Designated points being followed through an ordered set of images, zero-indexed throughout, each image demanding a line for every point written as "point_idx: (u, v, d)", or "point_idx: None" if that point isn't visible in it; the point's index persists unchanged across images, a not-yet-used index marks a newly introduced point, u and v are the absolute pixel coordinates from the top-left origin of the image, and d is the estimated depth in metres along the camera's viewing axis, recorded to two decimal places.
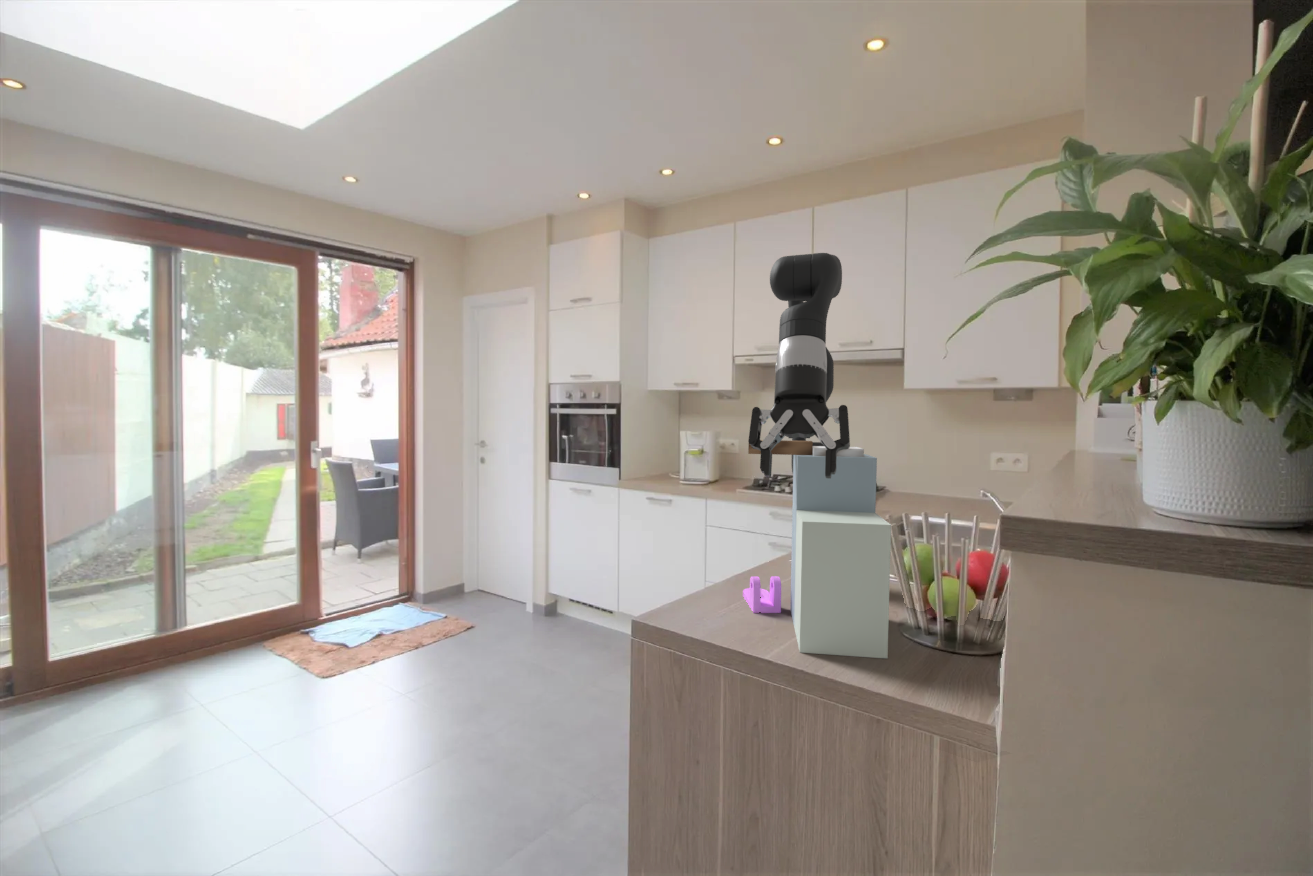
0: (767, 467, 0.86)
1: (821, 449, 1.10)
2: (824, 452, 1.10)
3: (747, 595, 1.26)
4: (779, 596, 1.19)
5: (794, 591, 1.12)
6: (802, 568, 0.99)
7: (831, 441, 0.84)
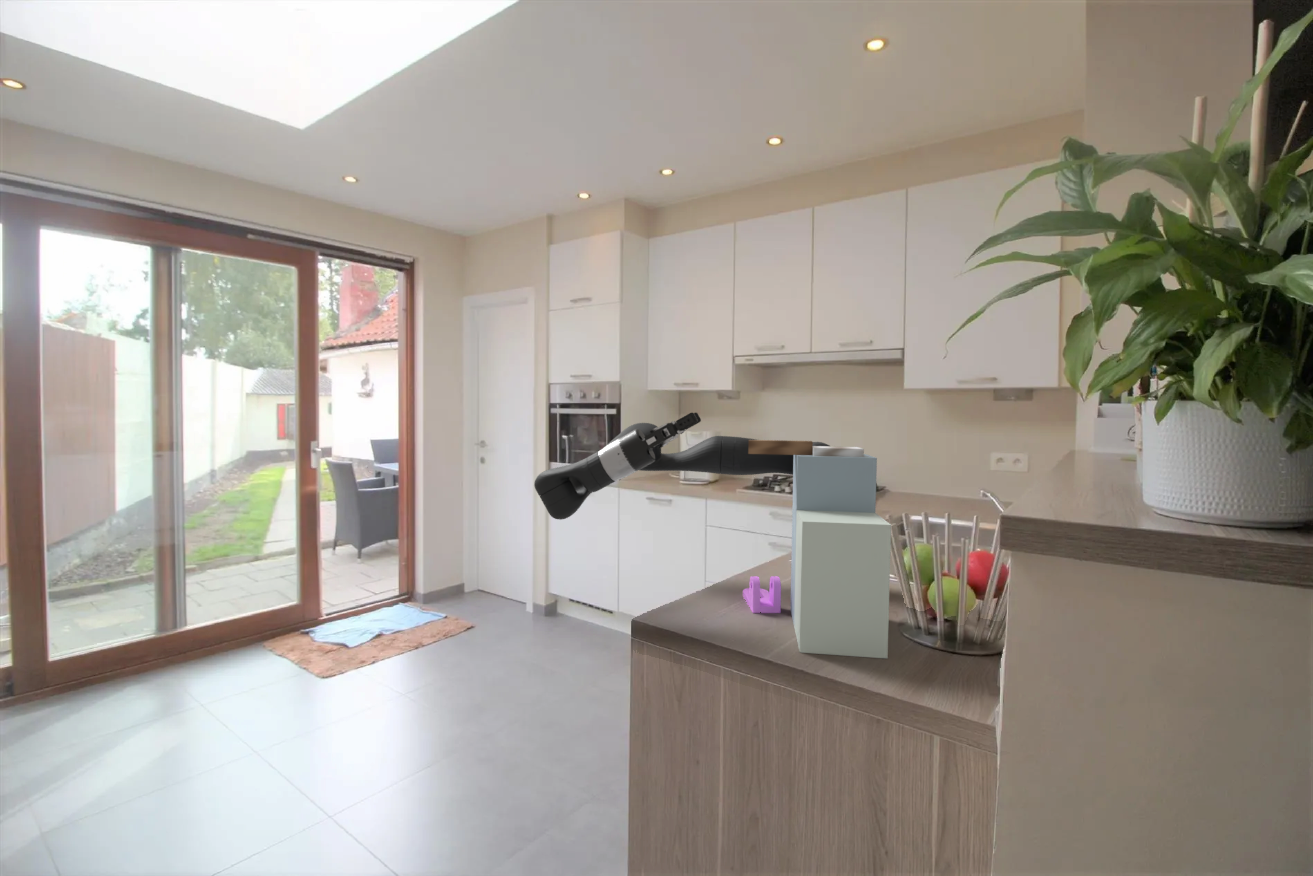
0: (697, 423, 1.21)
1: (821, 449, 1.10)
2: (824, 452, 1.10)
3: (747, 595, 1.26)
4: (779, 596, 1.19)
5: (794, 591, 1.12)
6: (802, 568, 0.99)
7: None
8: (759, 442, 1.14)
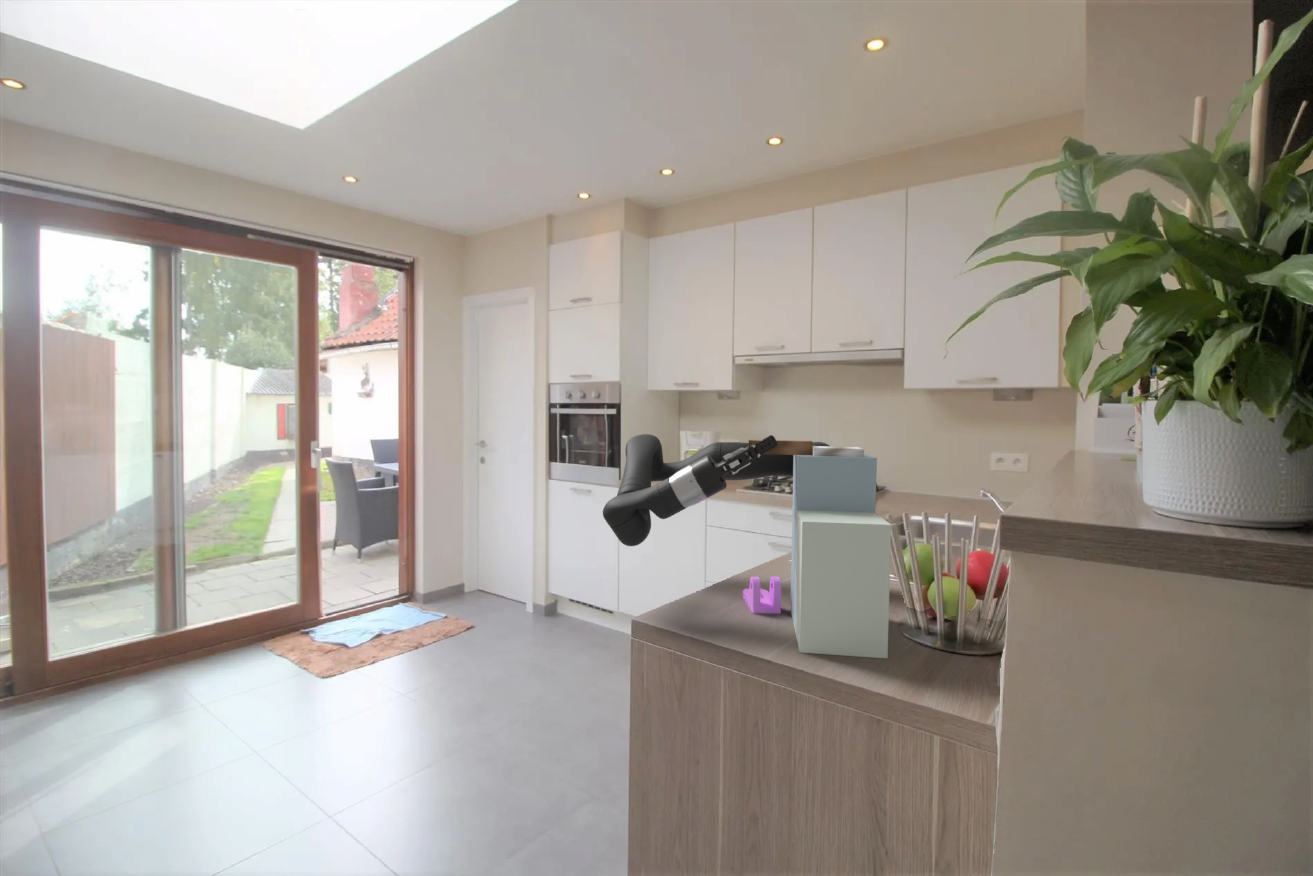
0: None
1: (821, 449, 1.10)
2: (824, 452, 1.10)
3: (747, 595, 1.26)
4: (779, 596, 1.19)
5: (794, 591, 1.12)
6: (802, 568, 0.99)
7: None
8: None
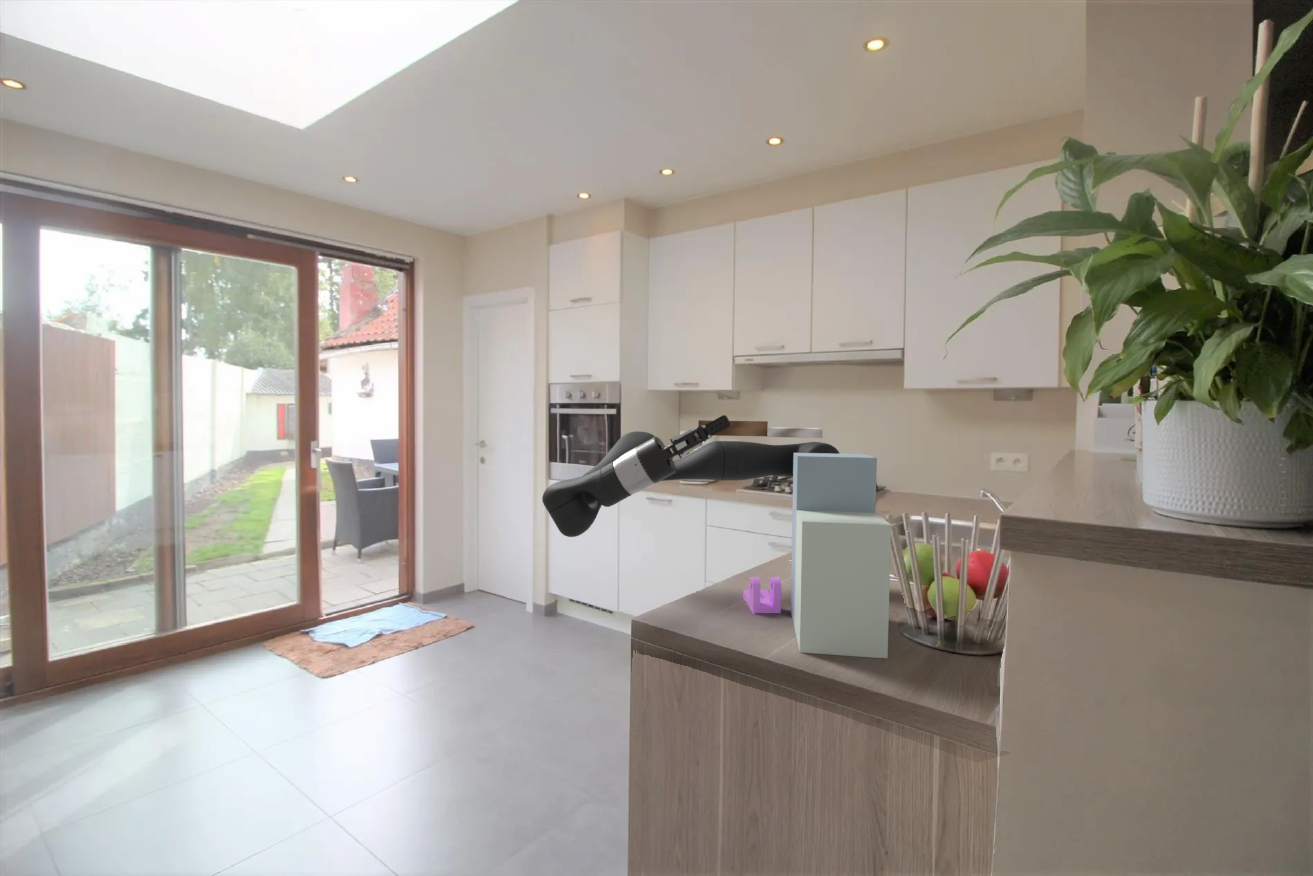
0: None
1: (776, 429, 1.01)
2: (779, 433, 1.01)
3: (747, 596, 1.26)
4: (779, 597, 1.18)
5: (794, 591, 1.12)
6: (802, 568, 0.99)
7: None
8: None
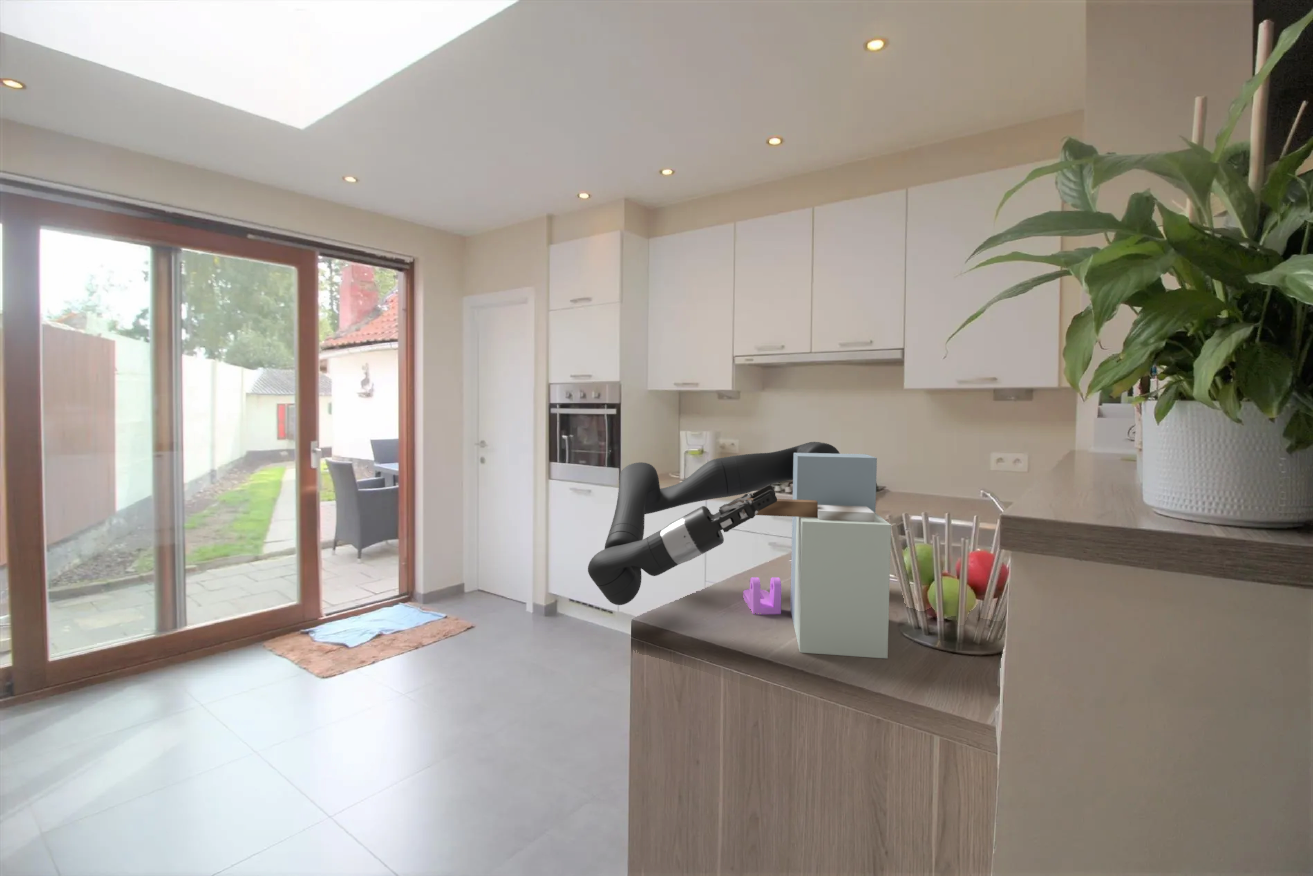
0: None
1: (827, 512, 1.00)
2: (830, 516, 1.00)
3: (747, 596, 1.25)
4: (779, 597, 1.18)
5: (794, 591, 1.12)
6: (802, 568, 0.99)
7: None
8: None
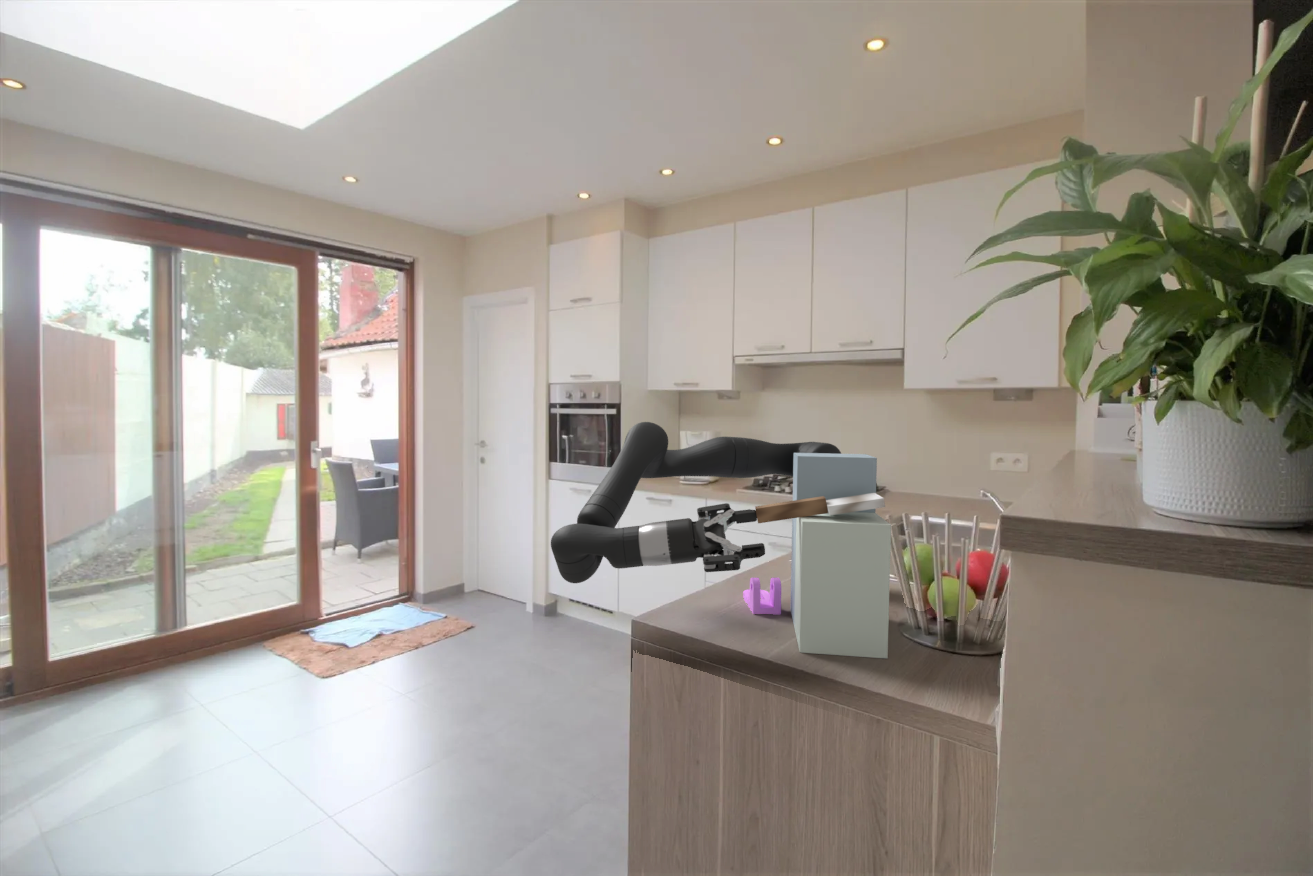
0: None
1: (837, 506, 0.99)
2: (841, 509, 0.99)
3: (747, 596, 1.25)
4: (779, 597, 1.18)
5: (794, 591, 1.12)
6: (802, 568, 0.99)
7: None
8: (767, 509, 1.03)
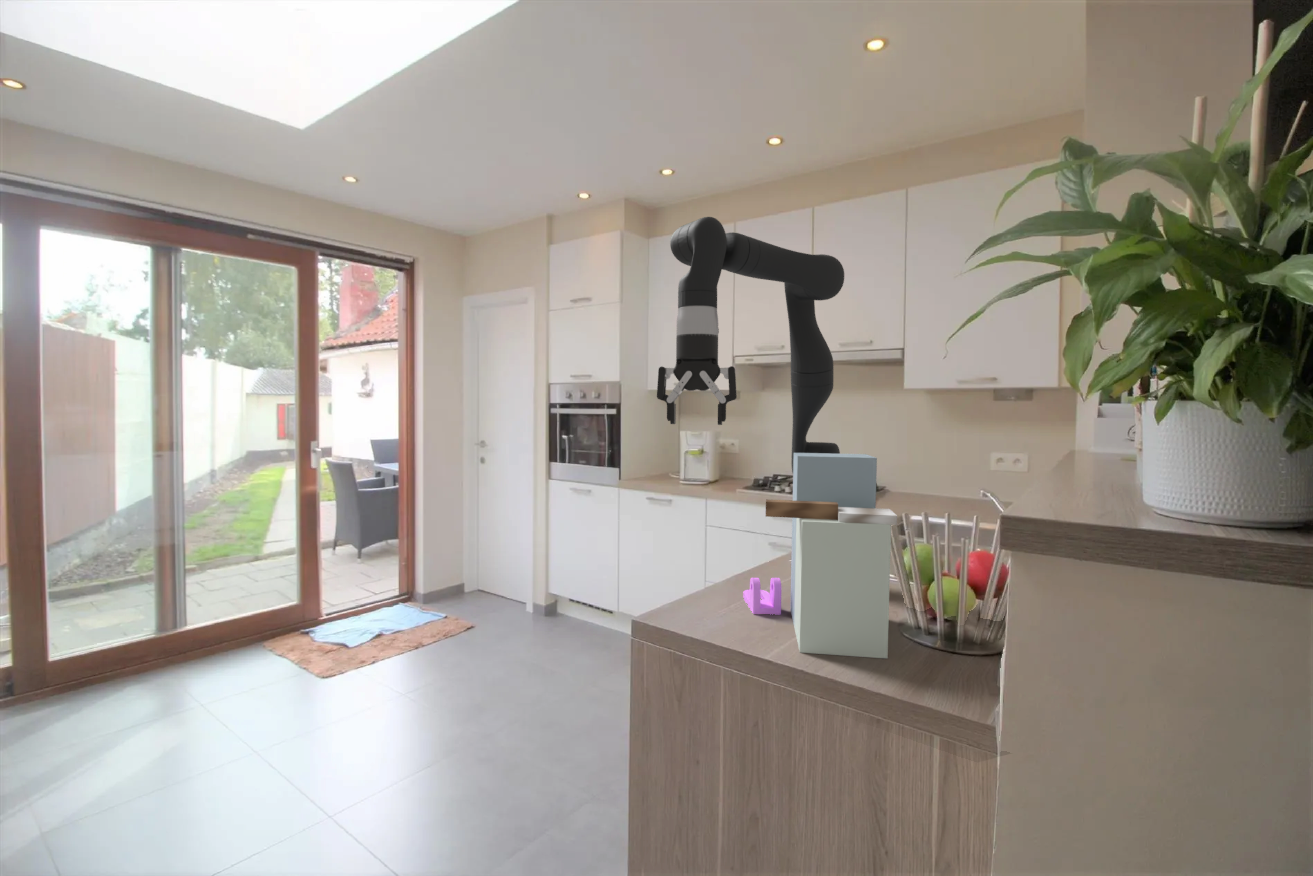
0: None
1: (848, 515, 0.98)
2: (851, 518, 0.98)
3: (747, 596, 1.25)
4: (779, 598, 1.18)
5: (794, 591, 1.12)
6: (802, 568, 0.99)
7: None
8: (778, 504, 1.02)
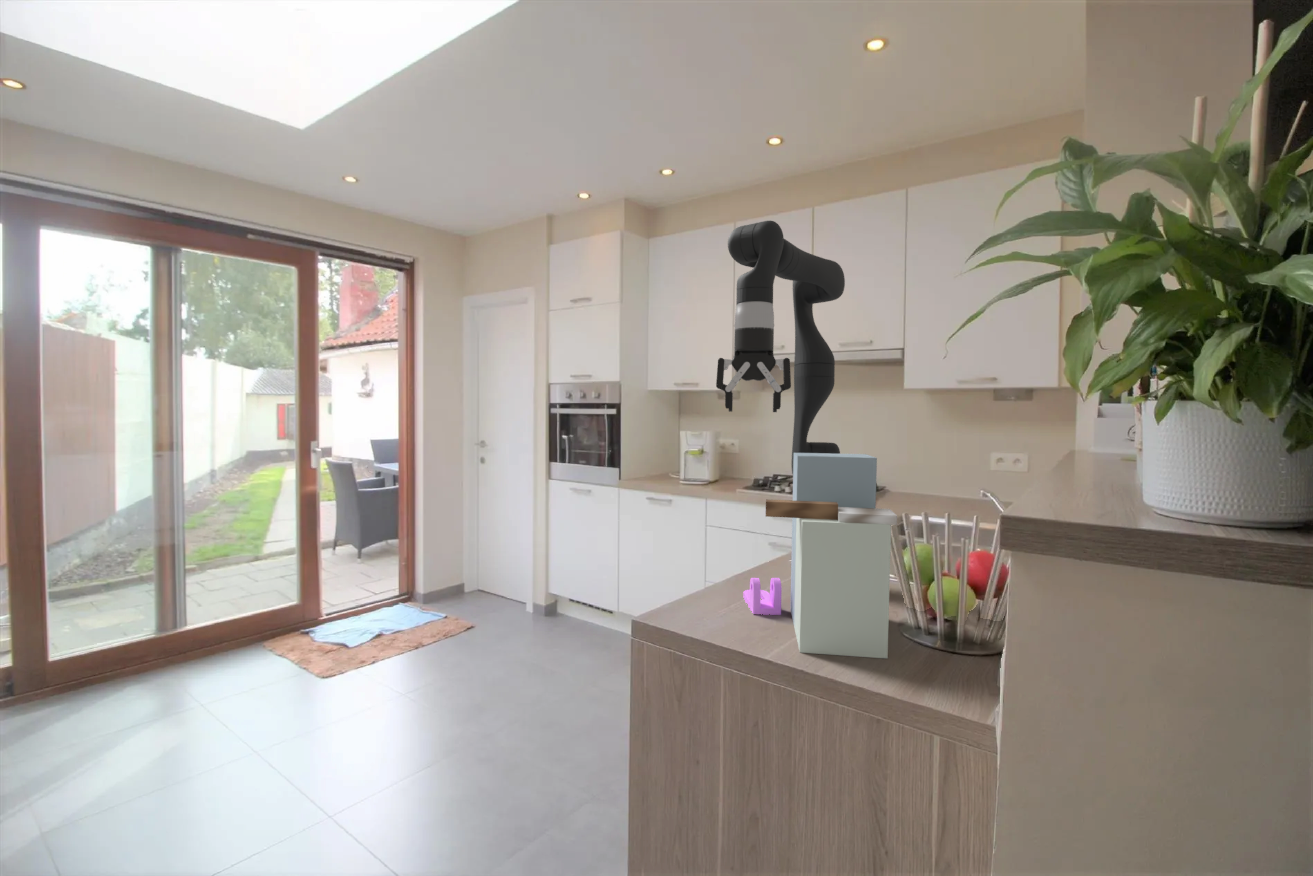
0: None
1: (848, 515, 0.98)
2: (851, 518, 0.98)
3: (747, 596, 1.25)
4: (779, 598, 1.18)
5: (794, 591, 1.12)
6: (802, 568, 0.99)
7: None
8: (778, 504, 1.02)
